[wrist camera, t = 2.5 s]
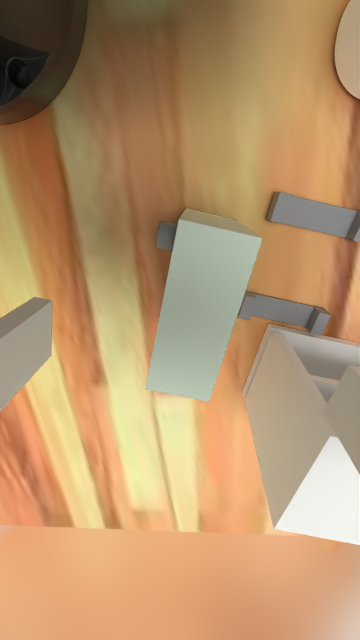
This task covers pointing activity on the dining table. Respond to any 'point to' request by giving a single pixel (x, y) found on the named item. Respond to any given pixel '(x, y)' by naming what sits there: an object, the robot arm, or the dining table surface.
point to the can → (349, 48)
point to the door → (199, 300)
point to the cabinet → (302, 397)
